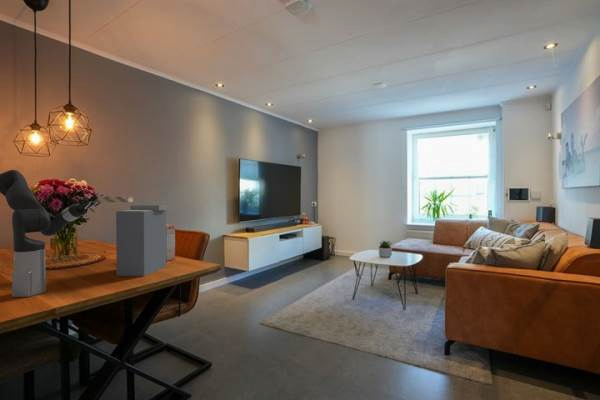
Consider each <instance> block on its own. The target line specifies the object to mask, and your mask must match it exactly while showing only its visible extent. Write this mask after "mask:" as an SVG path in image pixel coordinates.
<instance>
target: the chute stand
mask: <svg viewBox="0 0 600 400" xmlns="http://www.w3.org/2000/svg"><path fill="white" fill-rule="evenodd" d="M168 207H169V206H168V204H159V205H158V204H137V205H134V204H131V205H129V209H125V210H116V211H115V217H116V219H115V222H116V223H115V225H116V226H115V228H116V231H115V233H116V234H115V235H116V236H115V237H116V241H115V242H116V244H115V246H116V247H115V248H116V254H115V255H116V276H119V277H120V276H121V277H122V276H123V277H125V276H126V277H128V276H129V277H146V276H148V275H150V274H153V273H156V272H158V271H159V270H162V269H164V268H166V267H167V261H166V224H167V210H168V209H169V208H168ZM165 266H166V267H165ZM163 267H164V268H163Z"/></svg>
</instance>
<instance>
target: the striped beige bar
mask: <svg viewBox="0 0 600 400" xmlns="http://www.w3.org/2000/svg"><path fill="white" fill-rule="evenodd" d="M92 196H93V195H88V198H91V197H92ZM97 196H98V199H96V200H94V201H93V202H101V203H133V202H134V196H130V195H129V196H127V195H126V196H124V195H123V196H120V195H118V196H116V195H115V196H114V195H110V196H109V195H108V196H107V195H104V196H100V195H97ZM93 202H92V203H93Z"/></svg>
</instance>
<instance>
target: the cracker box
mask: <svg viewBox="0 0 600 400" xmlns="http://www.w3.org/2000/svg"><path fill="white" fill-rule="evenodd" d="M175 259H176V225H174V224H167V223H166V262H168V261H169V262H170V261H174V260H175Z"/></svg>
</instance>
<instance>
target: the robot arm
mask: <svg viewBox="0 0 600 400" xmlns="http://www.w3.org/2000/svg"><path fill="white" fill-rule="evenodd" d="M0 194H1V195H2V196H4V197H5V200H6V203H7V205H8V206H9V208H10V209H11V210H13V212H12V216H11V226H12V237H13V240H12V241H13V271H12V272H11V285H12V286H11V294H12V298H18V297H19V298H23V297H24V298H25V297H26V298H27V297H33V296H36V295H40V294H43V293H45V292H46V287H47V286H46V284H47V283H46V282H47V281H46V277H47V276H46V275H47V274H46V243H45V241H43V240H40V239H39V240H37V239H33V238H29V237H28V236H27V235H26V234H29V233H40V234H41V235H42V236H45V237H50V236H54V235H57V234H58V233H59V232H60V231H61V230H63V228H65V227H66V226H67V225H69V224H70V223H71V222H73V221H76V220H78V219H79V218H81V217H82V216H84V215H86V214H87V213H88V210H89V209H91V208H93V207H94V208H96V207H98V206H99V205H100V204H102V202H93V201H94V200H96V199H98V196H105V195H104V194H100V195H97V194H94V195H91V196H92V197H91V198H89V197H88V198H83V199H81V200H78V201H76V202H74V203H72V204H71V205H69V206H68V207H66V208H65V209H63V210H62V211H60V212H59V213H57V214H56V215H53V214H52V213H50V212H48V211H47V210H46V209H45V207H44V206H43V205H42V204H41V203H40V202H39V201H38V199H37V197H36V195H35V194H34V193H33V191H32V190H31V188H30V187H29V185H28V181H27V179H26V178H25V177H24V175H23V174H22V173H21V172H20V171H18V170H15V169H10V170H6V171H3V172H2V173H0Z"/></svg>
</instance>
